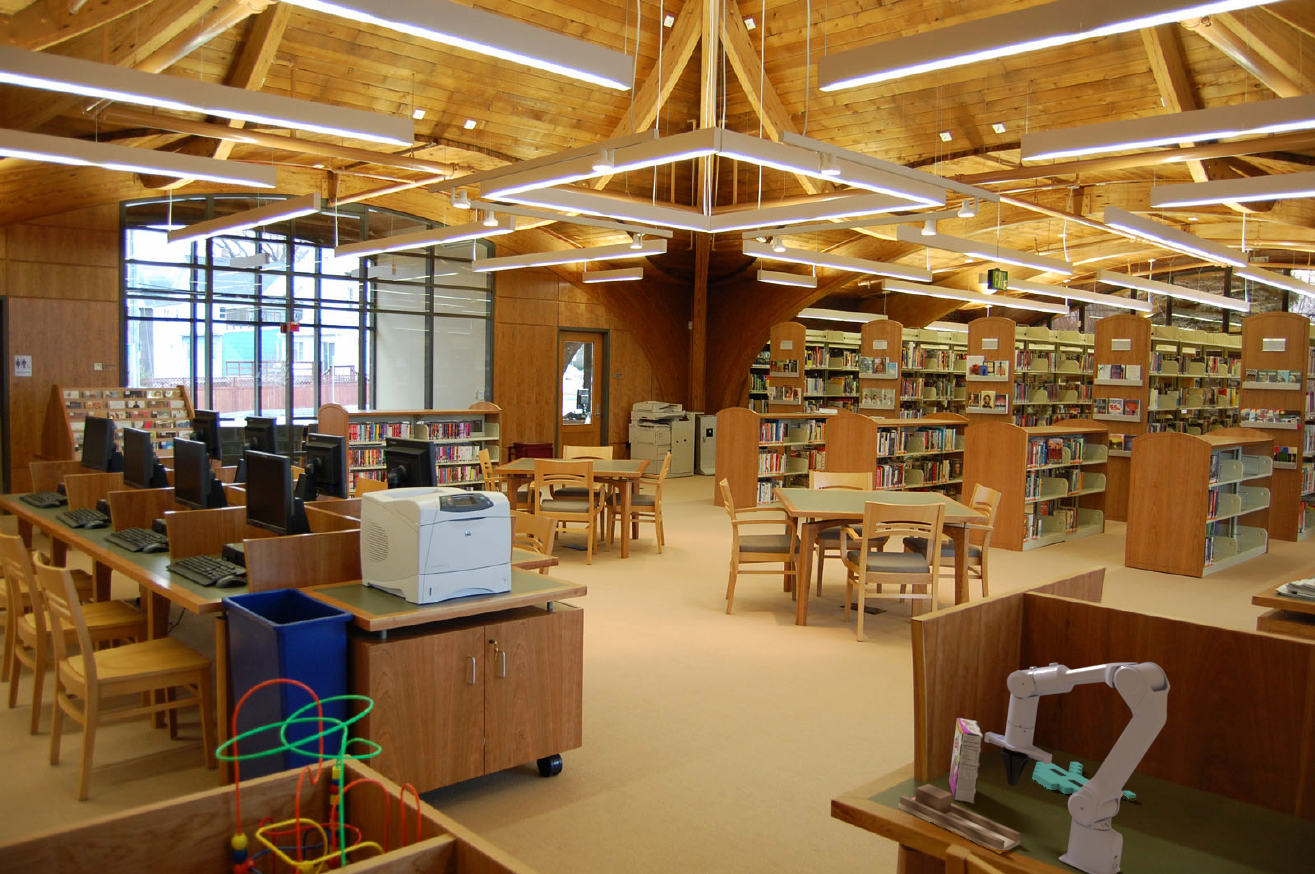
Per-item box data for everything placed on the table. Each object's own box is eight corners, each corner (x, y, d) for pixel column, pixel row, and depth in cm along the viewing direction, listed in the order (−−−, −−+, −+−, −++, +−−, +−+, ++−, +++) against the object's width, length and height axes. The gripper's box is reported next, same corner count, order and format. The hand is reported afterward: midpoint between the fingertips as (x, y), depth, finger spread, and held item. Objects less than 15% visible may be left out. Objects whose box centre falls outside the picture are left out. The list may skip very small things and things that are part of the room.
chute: (1019, 844, 195) (1020, 832, 195) (999, 854, 189) (1000, 842, 189) (919, 799, 212) (920, 788, 212) (898, 807, 206) (899, 796, 206)
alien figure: (1076, 769, 247) (1014, 770, 241) (1077, 761, 247) (1015, 761, 241) (1134, 803, 228) (1069, 804, 222) (1136, 794, 228) (1070, 795, 222)
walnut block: (950, 811, 205) (952, 793, 205) (938, 816, 201) (940, 798, 201) (926, 800, 209) (928, 783, 209) (914, 805, 206) (916, 787, 205)
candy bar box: (947, 782, 225) (956, 716, 225) (968, 786, 224) (977, 720, 224) (952, 800, 214) (962, 731, 214) (974, 804, 213) (984, 735, 213)
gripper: (981, 715, 206) (973, 775, 206) (1045, 738, 195) (1036, 800, 195) (996, 711, 210) (988, 769, 211) (1059, 732, 200) (1050, 794, 200)
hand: (1012, 784), depth 203 cm, fingers closed
